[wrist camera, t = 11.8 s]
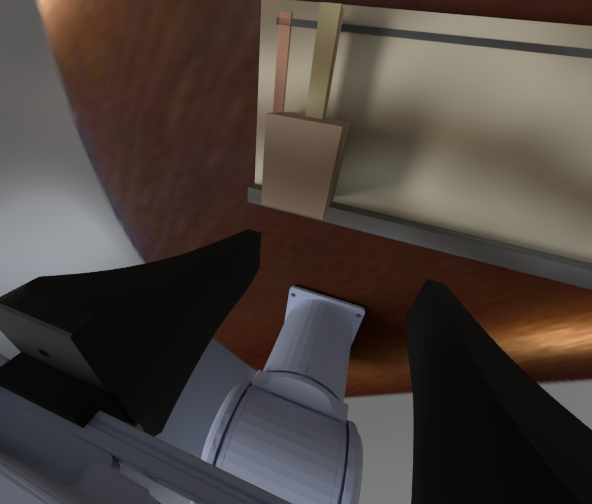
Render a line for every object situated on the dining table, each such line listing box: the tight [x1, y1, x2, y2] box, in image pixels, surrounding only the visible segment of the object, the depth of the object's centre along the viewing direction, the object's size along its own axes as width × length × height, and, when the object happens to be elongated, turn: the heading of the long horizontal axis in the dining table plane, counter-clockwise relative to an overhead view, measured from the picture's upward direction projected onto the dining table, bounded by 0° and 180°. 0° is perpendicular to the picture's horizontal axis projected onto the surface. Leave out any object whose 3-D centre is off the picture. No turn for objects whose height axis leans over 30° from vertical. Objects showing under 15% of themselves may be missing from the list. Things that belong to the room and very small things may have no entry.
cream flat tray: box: [248, 0, 592, 290], centre depth 14 cm, size 12×28×3 cm, turn 82°
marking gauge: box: [261, 2, 351, 220], centre depth 14 cm, size 10×4×4 cm, turn 172°
